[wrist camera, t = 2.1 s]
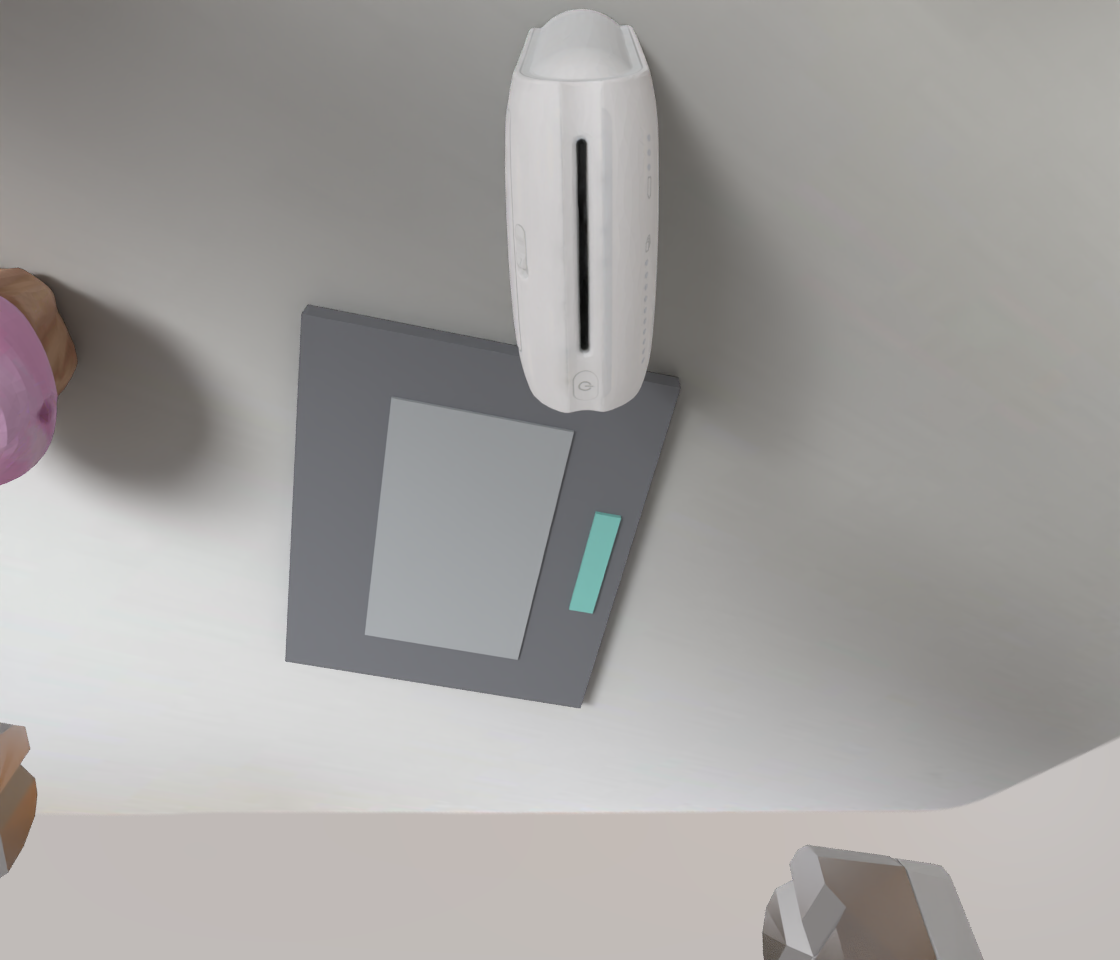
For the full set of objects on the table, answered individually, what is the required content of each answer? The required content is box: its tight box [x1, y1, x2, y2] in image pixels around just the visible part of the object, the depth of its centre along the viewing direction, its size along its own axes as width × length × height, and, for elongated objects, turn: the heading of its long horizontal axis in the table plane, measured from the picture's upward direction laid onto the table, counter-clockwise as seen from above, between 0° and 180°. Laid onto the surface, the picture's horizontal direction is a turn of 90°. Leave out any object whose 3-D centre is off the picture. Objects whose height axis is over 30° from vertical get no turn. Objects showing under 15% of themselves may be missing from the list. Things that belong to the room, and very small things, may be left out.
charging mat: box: [285, 305, 681, 708], centre depth 42 cm, size 20×16×1 cm
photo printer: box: [505, 9, 659, 413], centre depth 28 cm, size 10×4×12 cm, turn 2°
